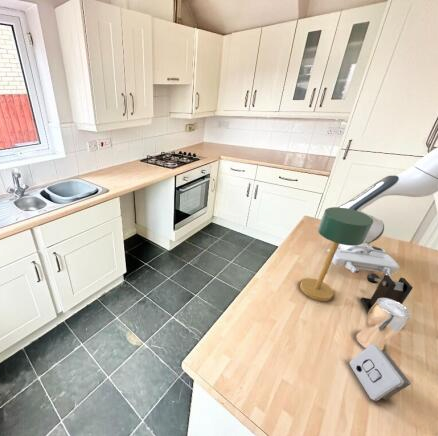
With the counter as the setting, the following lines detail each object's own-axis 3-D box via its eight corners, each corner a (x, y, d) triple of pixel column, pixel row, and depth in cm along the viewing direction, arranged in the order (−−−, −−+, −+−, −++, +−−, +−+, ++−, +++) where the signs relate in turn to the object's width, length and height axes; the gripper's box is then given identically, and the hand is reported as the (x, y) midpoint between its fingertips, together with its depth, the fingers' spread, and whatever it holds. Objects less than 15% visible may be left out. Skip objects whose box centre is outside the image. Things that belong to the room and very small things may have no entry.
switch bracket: (360, 299, 85) (377, 269, 79) (384, 304, 83) (404, 273, 77) (372, 320, 78) (392, 289, 71) (399, 326, 76) (422, 294, 69)
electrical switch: (347, 362, 66) (365, 342, 62) (367, 365, 66) (386, 345, 61) (371, 401, 58) (393, 381, 53) (393, 405, 58) (418, 385, 53)
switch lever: (364, 281, 87) (365, 272, 87) (375, 283, 86) (376, 273, 86) (391, 290, 74) (392, 279, 74) (405, 293, 73) (406, 282, 73)
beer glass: (361, 351, 69) (385, 315, 62) (349, 330, 75) (370, 295, 68) (390, 356, 67) (418, 320, 60) (376, 334, 73) (400, 299, 66)
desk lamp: (342, 296, 87) (382, 219, 72) (321, 308, 82) (358, 229, 67) (310, 275, 96) (339, 204, 81) (289, 285, 92) (316, 211, 77)
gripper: (328, 241, 99) (341, 262, 88) (389, 250, 94) (411, 273, 82) (323, 254, 102) (334, 275, 91) (382, 262, 97) (402, 286, 85)
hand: (371, 274), depth 86 cm, fingers open, 8 cm apart
